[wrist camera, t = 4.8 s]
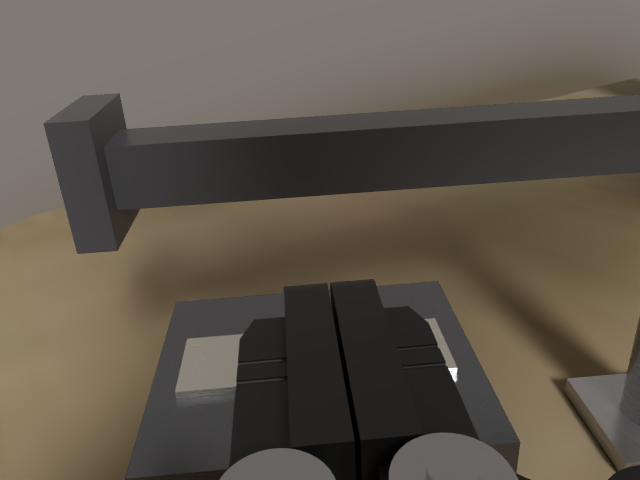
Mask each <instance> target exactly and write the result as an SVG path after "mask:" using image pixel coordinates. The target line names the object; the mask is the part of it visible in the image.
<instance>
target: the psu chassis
mask: <svg viewBox="0 0 640 480" xmlns="http://www.w3.org/2000/svg"><path fill="white" fill-rule="evenodd" d="M377 289H378V293H379V296H380V299H381V302H382V305H383V308H391V307H403V306H409V307H410V308H411V309H413V310H414V311H415V312H416V313H417V314H419V315H420V316H421V317H422V318H424V319H425V320H426V321H427V322H428V323H429V325H430V327H431V329H432V332H433V334H434V336H435V338H436V341H437V343H438V348H440V350H441V352H442V355H443V357H444V359H445V361H446V366H448V368H449V371H450V373H451V375H452V378H453V380H454V382H455V384H456V387H457V389H458V391H459V394H460V396H461V398H462V401H463V403H464V405H465V407H466V410H467V412H468V414H469V417H470V419H471V421H472V424H473V426H474V428H475V430H476V433H477V435H478V437H479V439H480V441H482V442H484V443H485V444H487V445H489V446H490V447H492V448H493V449H495V450H496V451H497V452H498V453H500V454H501V455H502V456H503V457H504V458H505V459H506V461H507V462H508V463H509V465H510V466H511V468H512V469H513V471H514V472H515V473H516V470H517V463H518V455H519V448H520V441H519V439H518V437H517V435H516V433H515V431H514V429H513V427H512V425H511V423H510V421H509V419H508V417H507V415H506V413H505V411H504V410H503V408H502V406H501V404H500V402H499V400H498V398H497V396H496V394H495V392H494V390H493V388H492V386H491V384H490V382H489V380H488V378H487V376H486V374H485V372H484V370H483V368H482V366H481V365H480V363H479V361H478V359H477V357H476V355H475V353H474V351H473V349H472V347H471V345H470V343H469V341H468V339H467V337H466V335H465V333H464V331H463V329H462V327H461V325H460V323H459V322H458V320H457V318H456V316H455V314H454V312H453V310H452V308H451V306H450V304H449V302H448V300H447V298H446V296H445V294H444V292H443V290H442V288H441V286H440V284H439V282H438V281H435V282H422V283H410V284H397V285H385V286H377ZM328 291H329V296H330V290H328ZM330 302H331V299H330ZM276 317H285V302H284V294H272V295H260V296H247V297H235V298H222V299H210V300H197V301H185V302H176V304H175V307H174V311H173V314H172V318H171V321H170V325H169V328H168V332H167V335H166V339H165V342H164V346H163V349H162V352H161V356H160V359H159V363H158V366H157V370H156V373H155V377H154V380H153V384H152V387H151V391H150V394H149V398H148V401H147V405H146V408H145V412H144V415H143V419H142V422H141V425H140V429H139V432H138V436H137V439H136V443H135V446H134V450H133V453H132V457H131V460H130V464H129V467H128V471H127V474H126V478H125V480H220V478H221V477H222V476H223V474H224V473H225V472H226V471H227V470H228V468H229V462H230V451H231V439H232V427H233V414H234V402H235V390H236V386H237V384H236V378H237V366H238V353H239V341H240V338H241V337H242V335H243V334H244V333H245V331H246V330H247V329H248V327H249V326H250V324H251V323H252V322H253V320H254V319H265V318H276Z"/></svg>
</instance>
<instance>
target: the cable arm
mask: <svg viewBox="0 0 640 480" xmlns="http://www.w3.org/2000/svg"><path fill="white" fill-rule="evenodd" d="M44 127H45V131H46V135H47V139H48V143H49V146H50V150H51V154H52V158H53V161H54V166H55V170H56V173H57V177H58V181H59V185H60V189H61V193H62V197H63V200H64V204H65V208H66V212H67V216H68V220H69V224H70V227H71V231H72V235H73V239H74V243H75V247H76V251H77V254H82V253H95V252H109V251H118V249H119V247H120V245H121V243H122V242H123V240H124V238H125V236H126V234H127V232H128V230H129V229H130V227H131V225H132V223H133V221H134V219H135V218H136V216H137V214H138V212H139V210H140V209H142V208H155V207H169V206H183V205H196V204H210V203H224V202H237V201H251V200H265V199H279V198H292V197H306V196H320V195H333V194H347V193H361V192H374V191H388V190H402V189H416V188H429V187H443V186H457V185H470V184H484V183H498V182H511V181H525V180H539V179H553V178H566V177H580V176H594V175H607V174H621V173H635V172H640V95H627V96H613V97H598V98H583V99H568V100H553V101H538V102H523V103H509V104H494V105H480V106H464V107H450V108H437V109H435V108H434V109H420V110H404V111H390V112H376V113H360V114H345V115H331V116H315V117H301V118H286V119H271V120H256V121H241V122H226V123H212V124H196V125H181V126H167V127H152V128H137V129H126V124H125V119H124V114H123V109H122V104H121V99H120V94H104V95H89V96H82V97H80V98H79V99H77V100H76V101H75V102H73V103H72V104H70V105H69V106H68V107H66V108H65V109H64V110H62V111H60V112H59V113H58V114H56V115H55V116H53V117H52V118H50V119H49V120H48V121H46V122H45V123H44Z"/></svg>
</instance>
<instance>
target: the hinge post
mask: <svg viewBox="0 0 640 480" xmlns="http://www.w3.org/2000/svg"><path fill="white" fill-rule="evenodd" d="M565 393H566V395H567V396H568V398H569V399H570V401H571V402H572V404H573V405H574V407H575V408H576V410H577V411H578V413H579V414H580V416H581V417H582V419H583V420H584V422H585V423H586V425H587V426H588V428H589V429H590V431H591V432H592V434H593V435H594V437H595V438H596V439H597V441H598V442H599V444H600V445H601V447H602V448H603V450H604V451H605V453H606V454H607V456H608V457H609V459H610V460H611V462H612V463H613V465H614V466H615V468H616V469H617V471H620V470H621V469H624V468H627V467H630V466H636V465H640V317H639V321H638V326H637V330H636V335H635V339H634V344H633V348H632V353H631V357H630V362H629V366H628V371H627V373H624V374H612V375H601V376H590V377H578V378H567V381H566V387H565Z"/></svg>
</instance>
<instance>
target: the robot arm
mask: <svg viewBox="0 0 640 480" xmlns="http://www.w3.org/2000/svg"><path fill="white" fill-rule="evenodd" d="M330 299H331V302H330ZM284 302H285V317H276V318H265V319H254V320H253V322H252V323H251V324H250V326H249V327H248V329H247V330H246V331H245V333H244V334H243V335H242V337H241V338H240V341H239V353H238V366H237V378H236V384H237V386H236V390H235V402H234V414H233V427H232V439H231V451H230V462H229V468H228V470H227V471H226V472H225V473H224V474H223V476H222V477H221V478H220V480H530V479H527V478H525V477H523V476H521V475H519V474H516V473H515V472H514V471H513V469H512V468H511V466H510V465H509V463H508V462H507V461H506V459H505V458H504V457H503V456H502V455H501V454H500V453H498V452H497V451H496V450H495V449H493V448H492V447H490V446H489V445H487V444H485V443H484V442H482V441H480V439H479V437H478V435H477V433H476V430H475V428H474V426H473V424H472V421H471V419H470V417H469V414H468V412H467V410H466V407H465V405H464V403H463V401H462V398H461V396H460V394H459V391H458V389H457V387H456V384H455V382H454V380H453V378H452V375H451V373H450V371H449V368H448V366H446V361H445V359H444V357H443V355H442V352H441V350H440V348H438V343H437V341H436V338H435V336H434V334H433V332H432V329H431V327H430V325H429V323H428V322H427V321H426V320H425V319H424V318H422V317H421V316H420V315H419V314H417V313H416V312H415V311H414V310H413V309H411V308H410V307H409V306H403V307H391V308H383V305H382V302H381V299H380V296H379V293H378V289H377V286H376V283H375V281H374V280H373V279H370V280H358V281H346V282H334V283H330V296H329V291H328V285H327V283H324V284H312V285H300V286H288V287H284ZM608 480H640V465H636V466H630V467H627V468H624V469H621V470H620V471H618V472H616V473H615V474H613V475H612V476H611V477H610V478H609V479H608Z"/></svg>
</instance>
